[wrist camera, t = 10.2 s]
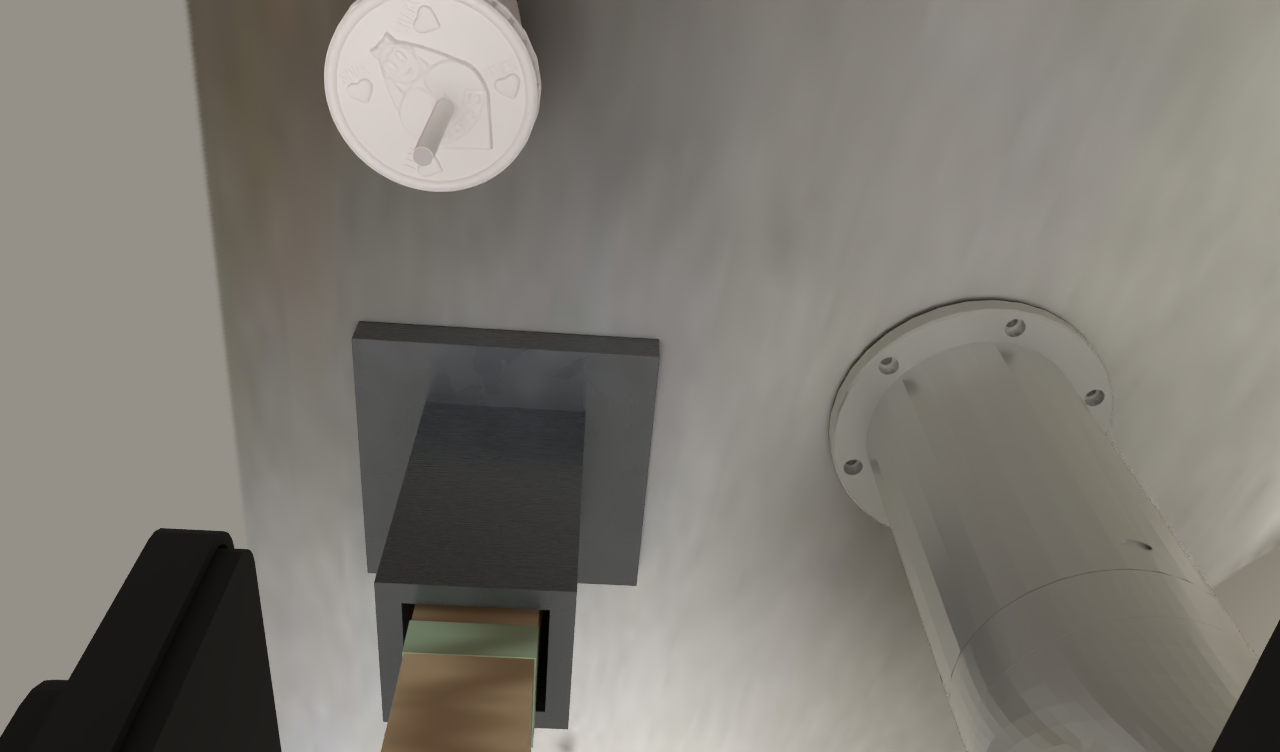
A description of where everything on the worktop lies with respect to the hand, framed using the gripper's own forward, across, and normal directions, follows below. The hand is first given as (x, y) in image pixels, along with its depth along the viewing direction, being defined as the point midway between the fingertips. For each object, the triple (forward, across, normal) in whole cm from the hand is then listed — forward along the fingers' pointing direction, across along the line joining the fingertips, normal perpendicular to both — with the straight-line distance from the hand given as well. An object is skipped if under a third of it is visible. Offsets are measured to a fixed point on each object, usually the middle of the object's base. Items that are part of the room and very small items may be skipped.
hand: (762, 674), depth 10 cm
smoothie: (+34, +7, +2) cm, 35 cm away
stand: (+34, +5, +22) cm, 41 cm away
